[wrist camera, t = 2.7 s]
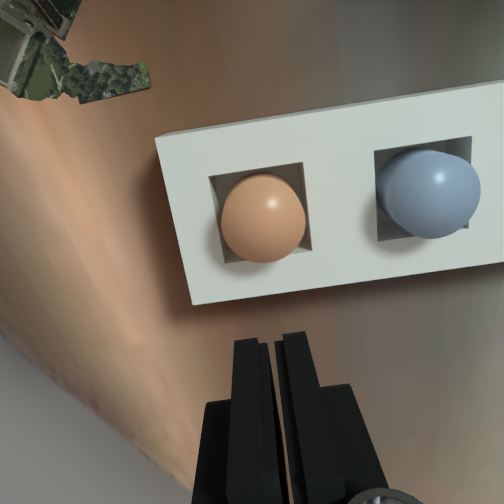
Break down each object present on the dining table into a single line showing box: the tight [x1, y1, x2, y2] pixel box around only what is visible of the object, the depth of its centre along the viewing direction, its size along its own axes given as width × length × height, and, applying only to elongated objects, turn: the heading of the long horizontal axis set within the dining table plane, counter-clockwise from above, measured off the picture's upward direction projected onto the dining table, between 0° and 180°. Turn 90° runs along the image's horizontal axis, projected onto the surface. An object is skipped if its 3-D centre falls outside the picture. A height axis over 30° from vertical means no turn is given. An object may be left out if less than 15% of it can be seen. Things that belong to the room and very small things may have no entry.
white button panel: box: [155, 79, 504, 305], centre depth 24 cm, size 28×10×4 cm, turn 99°
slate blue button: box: [376, 148, 481, 239], centre depth 22 cm, size 4×4×3 cm
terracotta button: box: [221, 172, 305, 263], centre depth 22 cm, size 4×4×3 cm
